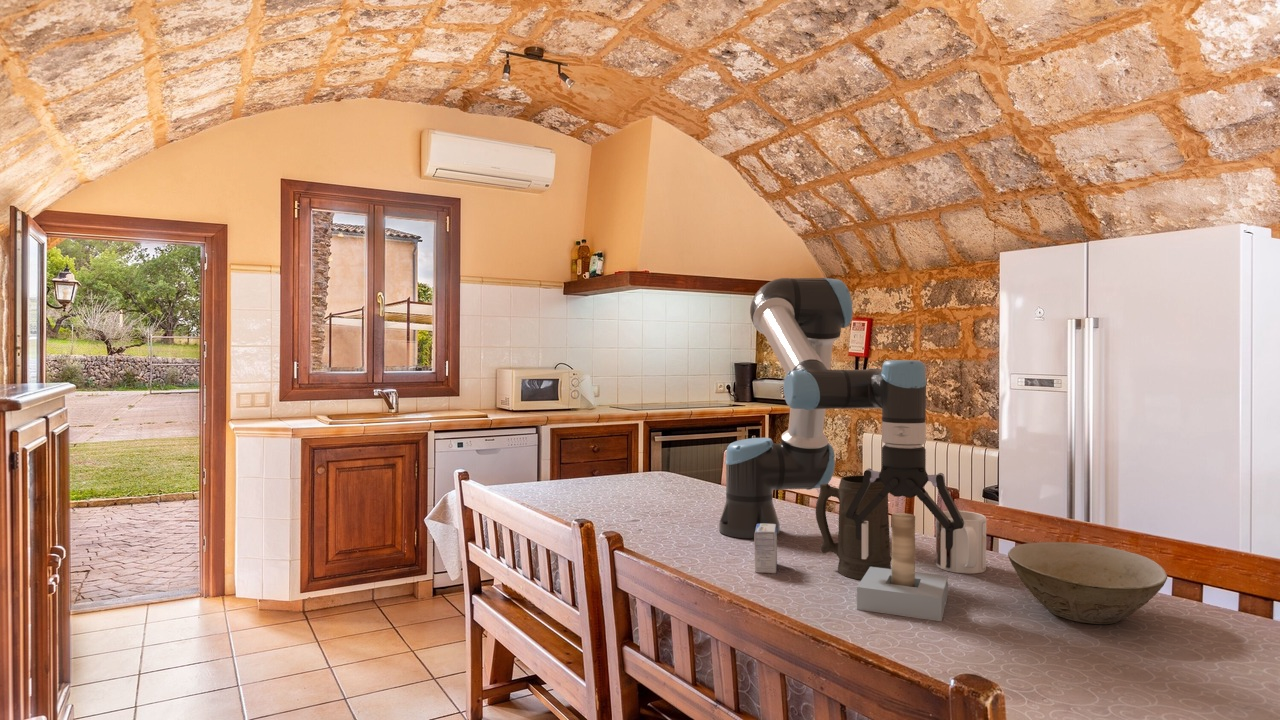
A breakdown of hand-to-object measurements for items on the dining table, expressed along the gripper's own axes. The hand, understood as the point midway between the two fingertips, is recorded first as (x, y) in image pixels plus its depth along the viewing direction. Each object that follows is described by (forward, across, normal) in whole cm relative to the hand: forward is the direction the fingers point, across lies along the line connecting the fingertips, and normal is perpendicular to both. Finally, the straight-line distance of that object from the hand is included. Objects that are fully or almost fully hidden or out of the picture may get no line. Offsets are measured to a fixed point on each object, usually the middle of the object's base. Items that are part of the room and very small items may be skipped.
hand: (903, 562), depth 139 cm
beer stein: (+8, -12, +16) cm, 21 cm away
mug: (+8, +8, +28) cm, 30 cm away
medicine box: (+8, -29, +11) cm, 32 cm away
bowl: (+8, +29, +7) cm, 31 cm away
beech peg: (+7, 0, 0) cm, 7 cm away
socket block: (+7, 0, 0) cm, 7 cm away
